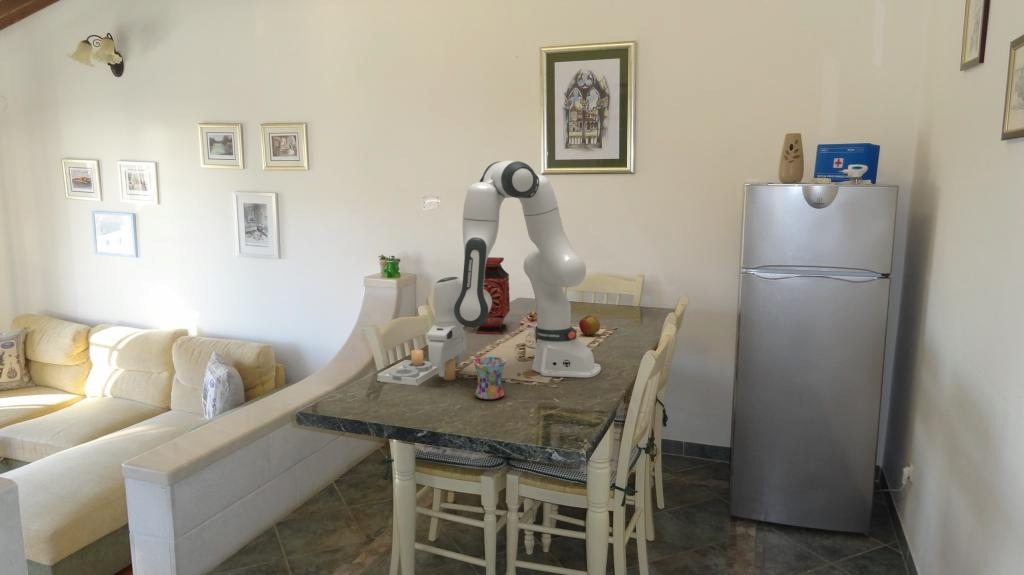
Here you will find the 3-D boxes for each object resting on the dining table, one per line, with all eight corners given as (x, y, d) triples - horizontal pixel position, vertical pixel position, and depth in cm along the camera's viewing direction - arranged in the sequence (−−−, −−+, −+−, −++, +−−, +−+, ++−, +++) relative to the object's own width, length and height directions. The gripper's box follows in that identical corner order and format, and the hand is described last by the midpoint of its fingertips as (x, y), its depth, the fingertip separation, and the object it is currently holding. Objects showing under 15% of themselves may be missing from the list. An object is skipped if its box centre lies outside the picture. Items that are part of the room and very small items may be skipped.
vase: (478, 327, 286) (477, 256, 281) (510, 327, 284) (509, 256, 279) (471, 334, 272) (470, 260, 267) (505, 335, 270) (504, 261, 266)
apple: (585, 332, 275) (585, 313, 273) (602, 335, 270) (603, 315, 269) (575, 336, 268) (575, 316, 267) (593, 338, 264) (593, 318, 263)
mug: (502, 402, 190) (501, 366, 188) (470, 400, 191) (469, 364, 190) (510, 389, 201) (510, 355, 200) (480, 387, 203) (479, 353, 201)
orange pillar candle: (457, 377, 214) (457, 359, 213) (452, 380, 210) (451, 362, 210) (446, 376, 215) (446, 358, 214) (441, 379, 212) (440, 361, 211)
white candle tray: (443, 370, 222) (442, 349, 221) (417, 385, 206) (416, 363, 205) (405, 366, 227) (404, 346, 226) (377, 381, 210) (376, 359, 209)
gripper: (453, 321, 221) (453, 362, 223) (424, 335, 202) (425, 379, 204) (470, 322, 219) (471, 364, 221) (443, 336, 200) (444, 381, 202)
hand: (449, 371), depth 212 cm, fingers open, 8 cm apart
